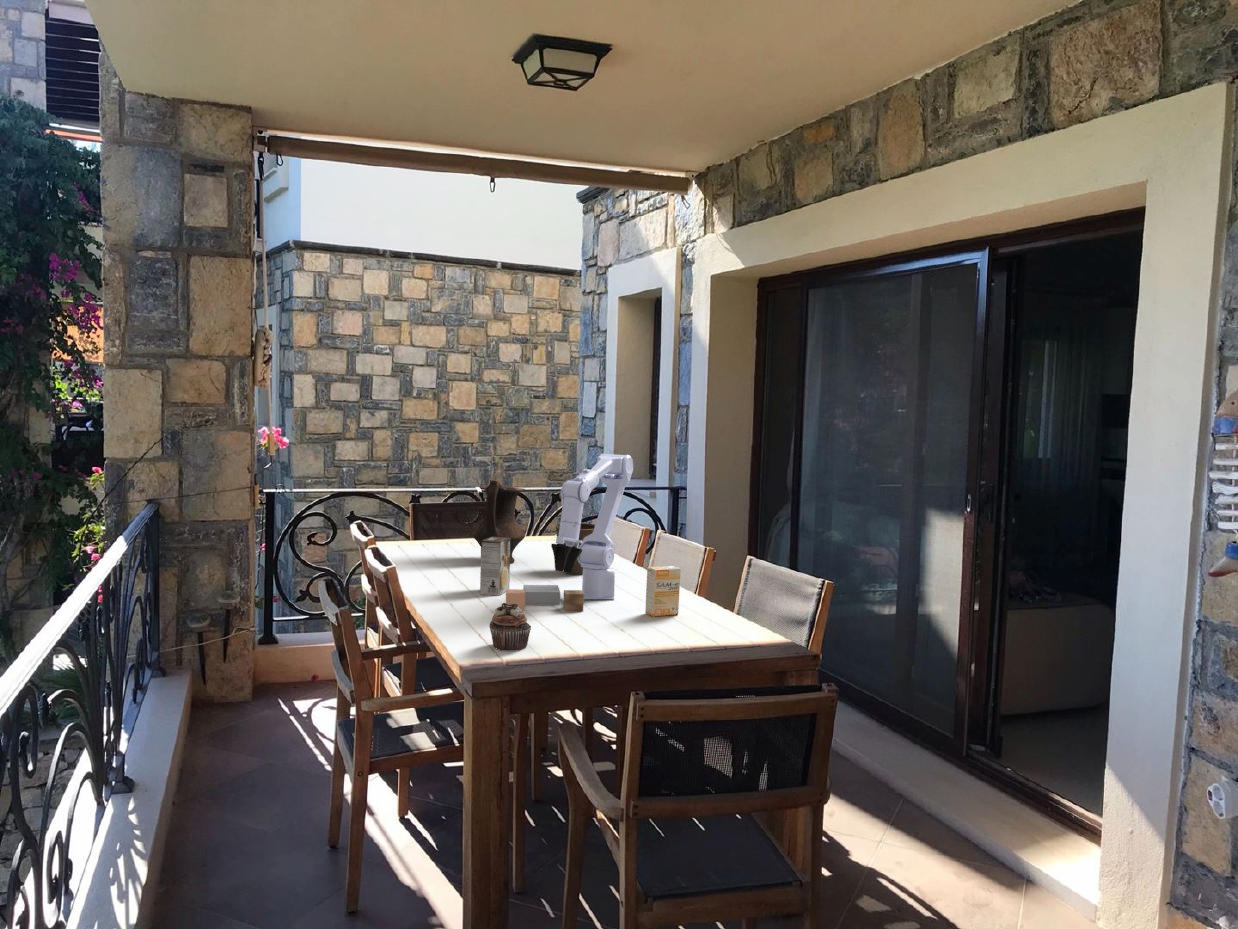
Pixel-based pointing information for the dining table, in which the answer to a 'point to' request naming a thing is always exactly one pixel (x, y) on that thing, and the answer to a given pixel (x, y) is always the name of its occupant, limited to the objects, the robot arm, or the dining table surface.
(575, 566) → the plant pot
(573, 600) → the walnut cube
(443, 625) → the dining table surface
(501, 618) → the cupcake
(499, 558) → the coffee box
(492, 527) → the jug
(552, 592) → the slate base
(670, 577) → the supplement box
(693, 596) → the dining table surface
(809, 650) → the dining table surface
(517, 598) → the terracotta cube
